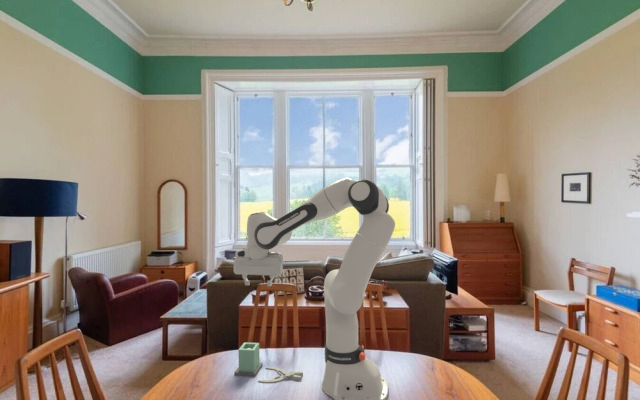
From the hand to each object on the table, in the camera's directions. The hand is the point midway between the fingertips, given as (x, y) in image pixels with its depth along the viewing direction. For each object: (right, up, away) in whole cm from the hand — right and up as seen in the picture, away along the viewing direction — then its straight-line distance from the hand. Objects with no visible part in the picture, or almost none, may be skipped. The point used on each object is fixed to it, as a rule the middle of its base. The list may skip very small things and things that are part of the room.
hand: (258, 285), depth 135 cm
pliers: (+11, -30, -15) cm, 35 cm away
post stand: (-2, -29, -10) cm, 31 cm away
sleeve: (-2, -28, -10) cm, 30 cm away
